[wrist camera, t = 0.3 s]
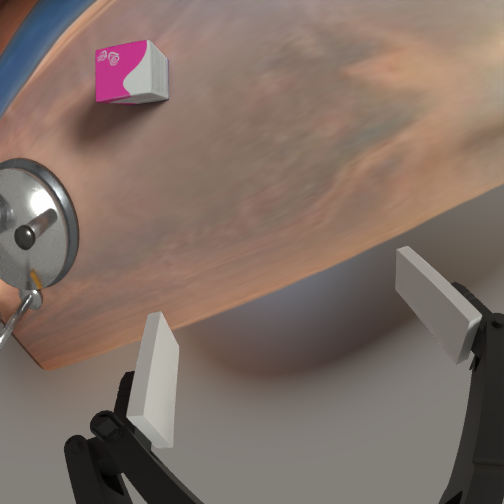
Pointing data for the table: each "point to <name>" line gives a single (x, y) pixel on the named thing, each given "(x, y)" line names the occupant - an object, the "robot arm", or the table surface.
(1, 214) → the cover
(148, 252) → the table surface
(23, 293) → the metal lever handle
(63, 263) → the turntable
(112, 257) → the table surface
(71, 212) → the base
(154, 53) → the supplement box
